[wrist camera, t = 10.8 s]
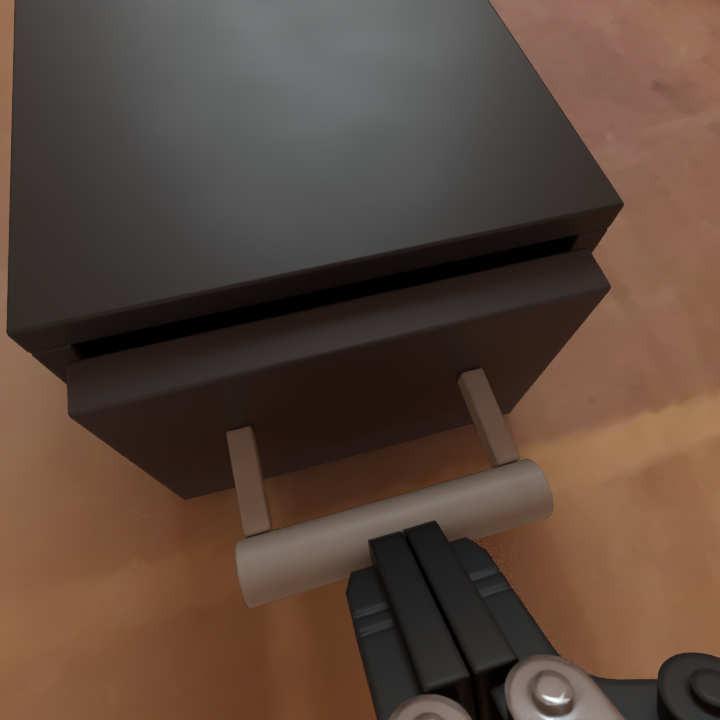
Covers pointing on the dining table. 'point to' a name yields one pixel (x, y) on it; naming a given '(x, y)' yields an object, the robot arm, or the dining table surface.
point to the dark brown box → (270, 157)
